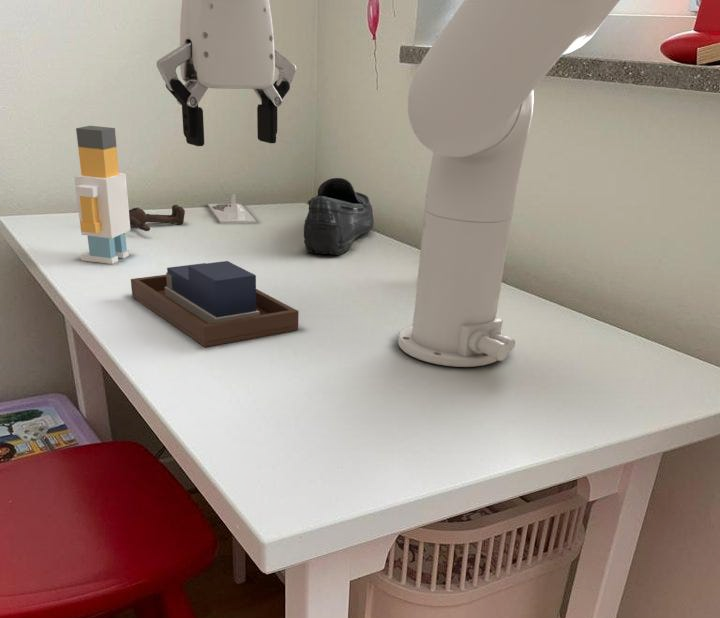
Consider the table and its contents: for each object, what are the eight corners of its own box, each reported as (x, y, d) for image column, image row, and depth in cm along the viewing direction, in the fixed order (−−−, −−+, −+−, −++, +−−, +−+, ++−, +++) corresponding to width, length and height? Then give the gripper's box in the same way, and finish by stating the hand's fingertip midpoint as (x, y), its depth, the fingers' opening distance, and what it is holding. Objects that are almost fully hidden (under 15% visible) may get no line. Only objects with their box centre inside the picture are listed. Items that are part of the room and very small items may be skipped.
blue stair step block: (215, 328, 91) (214, 281, 88) (164, 295, 100) (161, 252, 98) (259, 321, 94) (259, 275, 91) (206, 289, 104) (204, 247, 101)
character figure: (83, 267, 111) (67, 132, 102) (76, 249, 119) (61, 122, 110) (138, 265, 114) (127, 133, 105) (128, 247, 122) (117, 123, 113)
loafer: (377, 223, 148) (381, 167, 143) (361, 261, 123) (365, 195, 118) (324, 218, 149) (326, 162, 144) (298, 256, 124) (299, 189, 119)
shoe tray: (298, 330, 94) (298, 310, 93) (204, 347, 87) (204, 327, 86) (218, 285, 108) (217, 267, 107) (132, 297, 101) (130, 278, 100)
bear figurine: (203, 215, 131) (120, 212, 123) (202, 241, 133) (120, 239, 125) (160, 195, 144) (82, 191, 135) (160, 219, 146) (82, 216, 137)
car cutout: (256, 223, 142) (256, 197, 140) (220, 223, 140) (219, 197, 138) (241, 206, 155) (240, 182, 152) (207, 206, 153) (206, 182, 150)
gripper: (275, -23, 90) (276, 137, 98) (135, -37, 80) (149, 141, 89) (313, -23, 85) (310, 145, 93) (168, -39, 75) (180, 150, 84)
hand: (232, 143), depth 91 cm, fingers open, 9 cm apart
